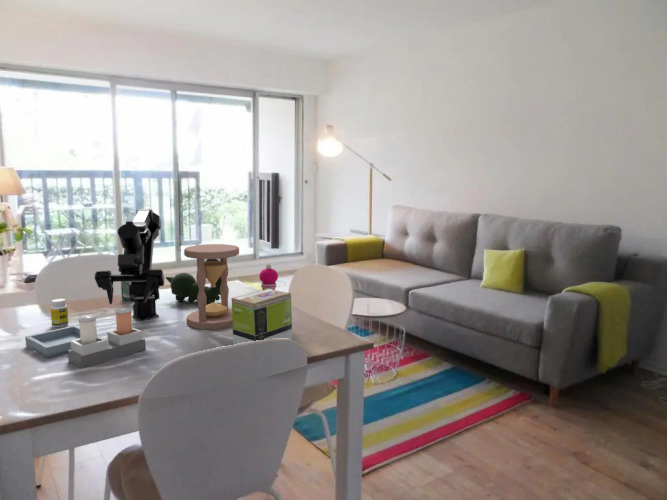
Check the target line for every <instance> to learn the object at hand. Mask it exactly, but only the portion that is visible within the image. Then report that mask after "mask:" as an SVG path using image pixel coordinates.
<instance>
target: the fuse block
mask: <svg viewBox="0 0 667 500" xmlns="http://www.w3.org/2000/svg"><path fill="white" fill-rule="evenodd" d="M106 333H107V339H106V338H103V337H101V336H99V335H98V336H97V342H94V343H90V344H86V345H83V344H81V342H80V339H76V340H72V341H70V342H71V350H68V353H67V355H68V356H67V357H68V362H69V363H72V364H73V365H74V366H76V367H78V368H80V369H84V368H86V367H91V366H94V365H97V364H100V363H104V362H107V361H111V360H114V359H117V358H121V357H125V356H127V355H132V354H134V353H135V354H136V353H138V352H141V351H144V350H146V347H147V346H146V345H147V344H146V339H145V338H143V330H139V328H138V329H137V328H135V327H133V326H132V333H129V334H125V335H118V334H117V329H113V330H110V331H109V330H108V331H107V332H106Z"/></svg>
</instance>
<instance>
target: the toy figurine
mask: <svg viewBox="0 0 667 500" xmlns="http://www.w3.org/2000/svg"><path fill="white" fill-rule="evenodd" d="M209 261H220V259H205V260H204V262H209ZM195 278H196V277H194V276H193V275H192V274H190V273H187V272H180V273H178V274H176V275H174V276H166V277H165V279H166V280H167V282H169V284H170V289H171V294H172V295H174V296H175V300H176V302H183V301H185V299H186V298H187V301H188V302H189V303H190V304H192V303H194V302H195V301H197V296H198V292H199V287H198V284H197V281H196V279H195ZM221 283H222V280H221V277H219V279H218V280H217V282H216V283H215V285H216V287H210V286H207V285H205V287H204V291H205V294H206V297H207V302H206V303H209V302H210V304H211V303H213V302H214V303H216V301H219V300H221V295H220V287H221Z"/></svg>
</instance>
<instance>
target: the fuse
mask: <svg viewBox="0 0 667 500" xmlns="http://www.w3.org/2000/svg"><path fill="white" fill-rule="evenodd" d="M77 319H78V327H79V328H80V342H81V344H83V345H86V344H90V343H94V342H97V335H98V331H97V315H96V314H83V315H80V316H78V318H77Z"/></svg>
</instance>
